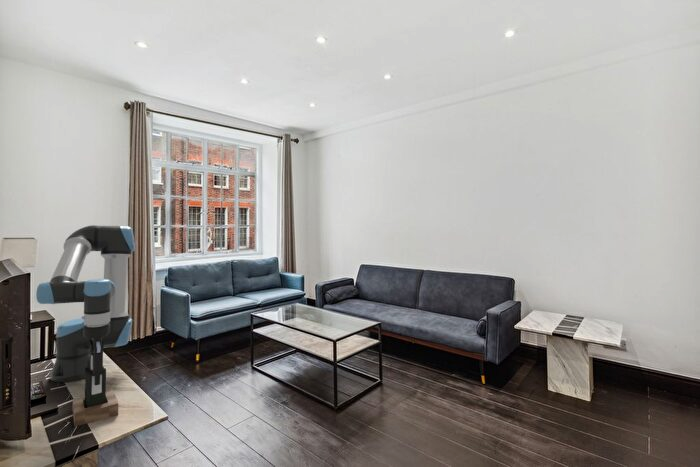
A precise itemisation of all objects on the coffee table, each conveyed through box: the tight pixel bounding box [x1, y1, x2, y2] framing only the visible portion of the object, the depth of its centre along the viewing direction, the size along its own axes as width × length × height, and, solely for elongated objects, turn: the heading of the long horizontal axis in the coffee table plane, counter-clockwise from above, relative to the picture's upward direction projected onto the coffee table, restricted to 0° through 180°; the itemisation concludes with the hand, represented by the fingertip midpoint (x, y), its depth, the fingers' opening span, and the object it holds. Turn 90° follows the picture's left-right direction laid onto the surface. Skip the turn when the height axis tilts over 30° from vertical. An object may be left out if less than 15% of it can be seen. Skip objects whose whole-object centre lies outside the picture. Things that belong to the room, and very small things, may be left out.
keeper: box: [71, 389, 119, 427], centre depth 123 cm, size 12×12×4 cm
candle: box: [84, 352, 107, 408], centre depth 122 cm, size 5×5×25 cm
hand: (95, 389), depth 122 cm, fingers closed on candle, 6 cm apart
